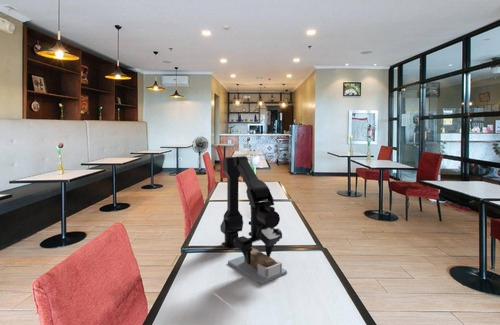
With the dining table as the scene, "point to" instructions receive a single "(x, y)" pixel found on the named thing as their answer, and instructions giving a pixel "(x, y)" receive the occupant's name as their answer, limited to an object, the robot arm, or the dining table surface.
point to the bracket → (262, 273)
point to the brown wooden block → (260, 259)
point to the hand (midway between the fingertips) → (258, 260)
